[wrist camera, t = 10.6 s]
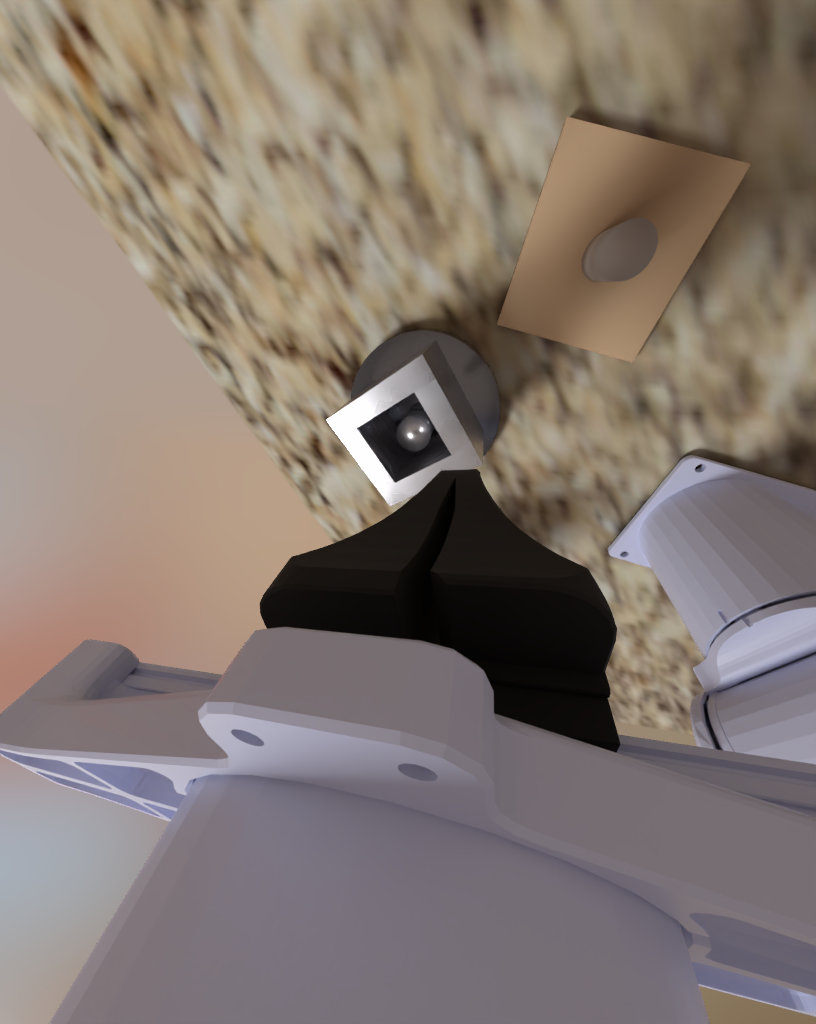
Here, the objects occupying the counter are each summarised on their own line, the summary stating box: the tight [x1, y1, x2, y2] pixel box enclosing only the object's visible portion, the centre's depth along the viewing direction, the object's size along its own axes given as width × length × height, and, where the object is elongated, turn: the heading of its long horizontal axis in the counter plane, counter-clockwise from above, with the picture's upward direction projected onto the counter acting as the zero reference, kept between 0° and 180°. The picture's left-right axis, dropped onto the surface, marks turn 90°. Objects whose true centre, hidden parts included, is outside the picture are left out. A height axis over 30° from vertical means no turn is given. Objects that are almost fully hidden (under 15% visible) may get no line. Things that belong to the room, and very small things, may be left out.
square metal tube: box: [327, 340, 484, 506], centre depth 17 cm, size 6×6×4 cm
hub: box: [351, 329, 500, 456], centre depth 19 cm, size 9×9×4 cm
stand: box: [497, 117, 751, 363], centre depth 13 cm, size 7×7×4 cm
